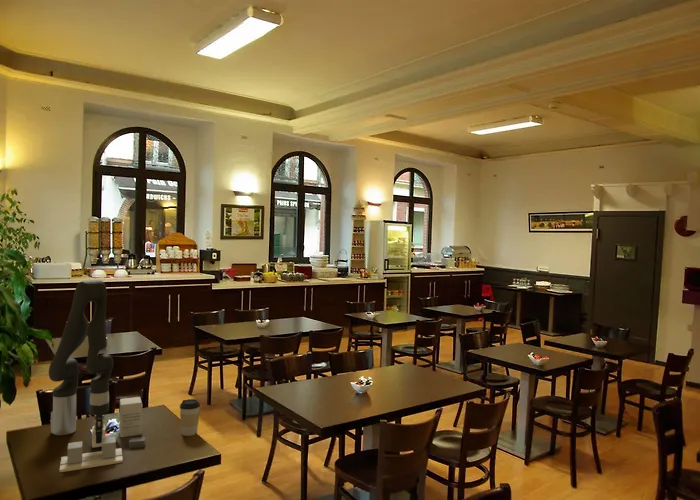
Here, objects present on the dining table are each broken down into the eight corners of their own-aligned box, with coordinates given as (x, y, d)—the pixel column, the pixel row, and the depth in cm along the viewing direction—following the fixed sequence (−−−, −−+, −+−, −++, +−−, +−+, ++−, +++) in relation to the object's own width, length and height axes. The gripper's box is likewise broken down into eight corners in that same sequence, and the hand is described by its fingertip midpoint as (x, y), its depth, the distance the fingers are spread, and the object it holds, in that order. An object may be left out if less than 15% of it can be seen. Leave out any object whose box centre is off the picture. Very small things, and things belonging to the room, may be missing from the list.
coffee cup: (201, 429, 239) (202, 397, 238) (196, 436, 230) (197, 404, 229) (182, 428, 238) (183, 397, 238) (176, 436, 229) (177, 403, 229)
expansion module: (92, 447, 215) (92, 430, 214) (92, 442, 220) (92, 425, 220) (105, 445, 217) (105, 429, 217) (105, 440, 222) (105, 424, 222)
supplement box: (119, 430, 234) (119, 398, 234) (140, 427, 238) (140, 396, 238) (120, 437, 226) (120, 404, 226) (141, 434, 230) (142, 402, 230)
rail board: (59, 472, 193) (59, 453, 193) (61, 459, 204) (61, 441, 204) (122, 462, 203) (122, 444, 203) (121, 450, 214) (121, 433, 213)
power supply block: (128, 448, 216) (129, 441, 216) (130, 444, 220) (130, 438, 220) (144, 447, 218) (144, 440, 217) (145, 443, 221) (145, 437, 221)
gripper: (89, 397, 222) (89, 435, 223) (89, 408, 210) (88, 448, 210) (108, 395, 226) (108, 432, 226) (109, 406, 213) (108, 445, 214)
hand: (98, 439), depth 218 cm, fingers closed on expansion module, 6 cm apart
